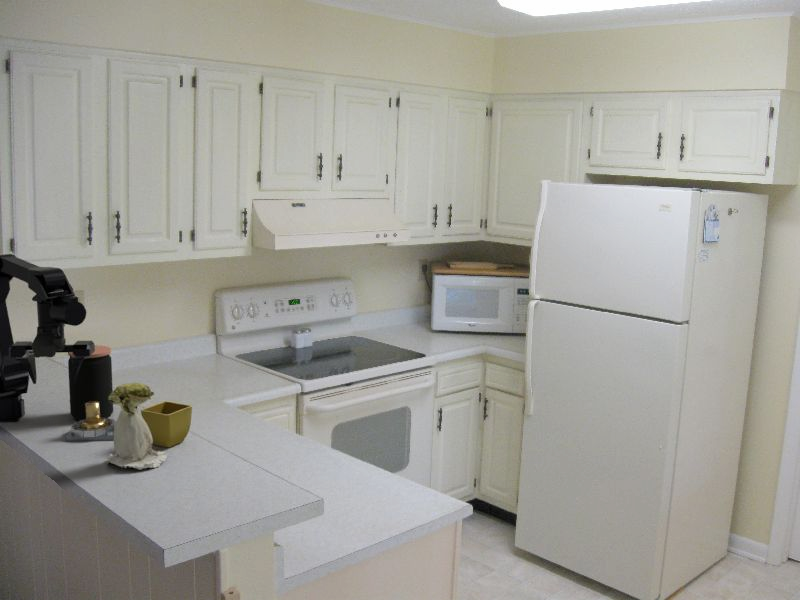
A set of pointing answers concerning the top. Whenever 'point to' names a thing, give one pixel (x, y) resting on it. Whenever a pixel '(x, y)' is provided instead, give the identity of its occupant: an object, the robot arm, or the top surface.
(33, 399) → the top surface
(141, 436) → the cream lumpy figure
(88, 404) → the planet gear
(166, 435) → the flower pot
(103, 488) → the top surface
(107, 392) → the coffee jar
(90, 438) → the carrier
